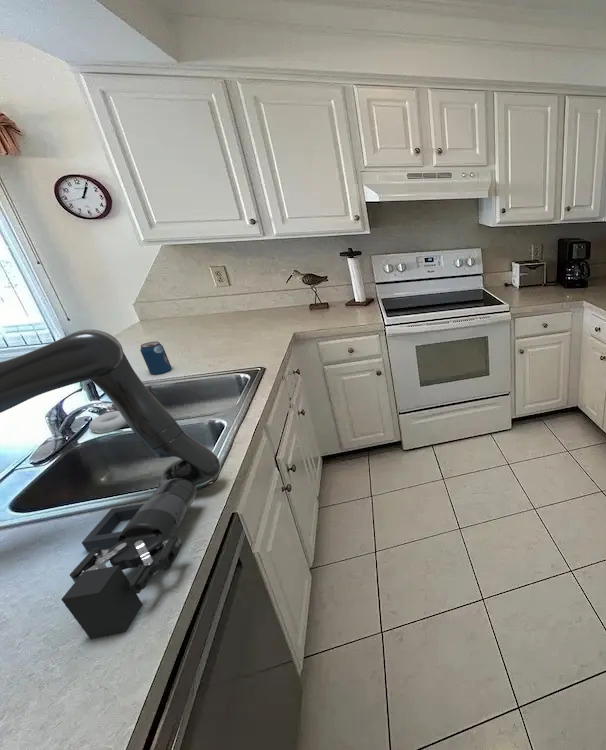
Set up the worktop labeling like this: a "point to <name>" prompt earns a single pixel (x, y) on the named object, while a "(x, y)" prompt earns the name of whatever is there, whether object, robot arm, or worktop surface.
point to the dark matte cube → (102, 602)
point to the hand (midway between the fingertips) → (103, 596)
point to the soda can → (155, 358)
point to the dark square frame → (109, 528)
